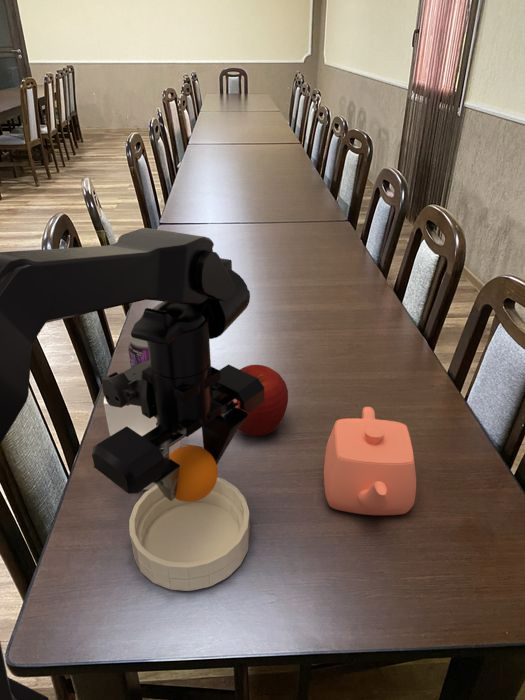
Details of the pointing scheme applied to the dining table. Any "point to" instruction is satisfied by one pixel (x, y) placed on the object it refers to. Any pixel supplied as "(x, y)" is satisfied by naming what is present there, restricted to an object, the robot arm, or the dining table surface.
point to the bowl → (190, 537)
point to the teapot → (370, 466)
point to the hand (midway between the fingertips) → (191, 481)
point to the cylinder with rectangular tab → (131, 423)
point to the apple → (266, 402)
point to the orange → (194, 473)
